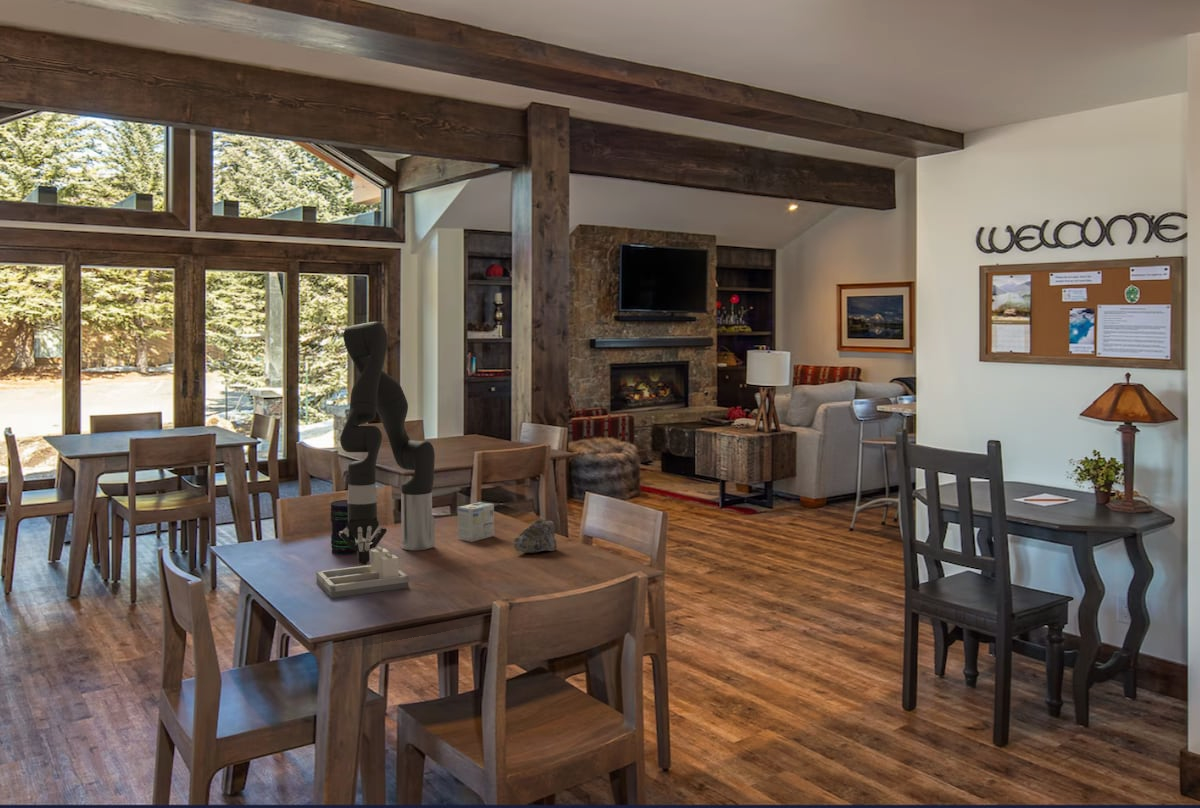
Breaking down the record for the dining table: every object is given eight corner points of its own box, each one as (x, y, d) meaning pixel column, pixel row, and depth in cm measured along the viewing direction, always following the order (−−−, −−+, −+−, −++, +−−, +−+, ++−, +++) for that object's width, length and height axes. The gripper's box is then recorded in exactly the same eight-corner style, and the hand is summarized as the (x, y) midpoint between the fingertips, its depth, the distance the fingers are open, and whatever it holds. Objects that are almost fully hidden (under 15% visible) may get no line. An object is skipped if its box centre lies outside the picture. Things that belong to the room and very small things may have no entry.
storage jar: (324, 553, 278) (323, 504, 277) (344, 546, 287) (344, 498, 286) (351, 556, 274) (350, 506, 273) (371, 549, 283) (370, 501, 282)
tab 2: (394, 576, 246) (393, 551, 246) (398, 580, 243) (398, 554, 242) (379, 578, 244) (378, 553, 244) (383, 582, 241) (383, 556, 240)
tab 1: (384, 569, 253) (384, 545, 253) (389, 573, 250) (388, 548, 249) (370, 571, 251) (370, 547, 251) (374, 575, 248) (374, 550, 247)
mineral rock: (513, 556, 276) (513, 523, 276) (514, 547, 287) (514, 515, 286) (557, 555, 277) (557, 522, 277) (556, 547, 288) (556, 515, 287)
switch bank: (390, 573, 256) (390, 562, 256) (408, 587, 242) (408, 576, 242) (316, 582, 246) (316, 571, 246) (330, 598, 233) (330, 586, 232)
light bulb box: (479, 533, 306) (479, 501, 305) (495, 536, 302) (495, 503, 301) (456, 539, 298) (456, 506, 297) (472, 542, 294) (472, 508, 293)
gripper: (382, 496, 253) (383, 558, 255) (333, 500, 247) (334, 564, 248) (390, 500, 247) (391, 564, 248) (340, 505, 240) (341, 570, 242)
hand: (363, 564), depth 248 cm, fingers closed
